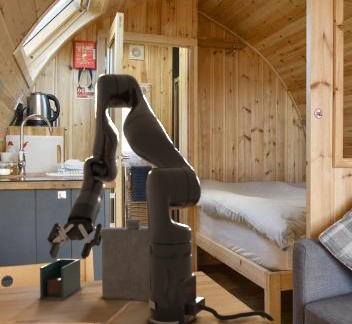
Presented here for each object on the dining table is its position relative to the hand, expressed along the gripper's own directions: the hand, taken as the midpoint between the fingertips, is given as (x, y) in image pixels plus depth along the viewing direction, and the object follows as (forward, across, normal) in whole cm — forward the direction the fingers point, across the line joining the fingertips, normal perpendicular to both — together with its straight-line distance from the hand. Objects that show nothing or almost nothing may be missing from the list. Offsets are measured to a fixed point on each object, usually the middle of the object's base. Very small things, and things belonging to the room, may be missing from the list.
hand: (68, 257), depth 124 cm
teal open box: (+9, 0, +3) cm, 10 cm away
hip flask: (+11, +20, +2) cm, 23 cm away
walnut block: (+10, 0, +2) cm, 10 cm away
